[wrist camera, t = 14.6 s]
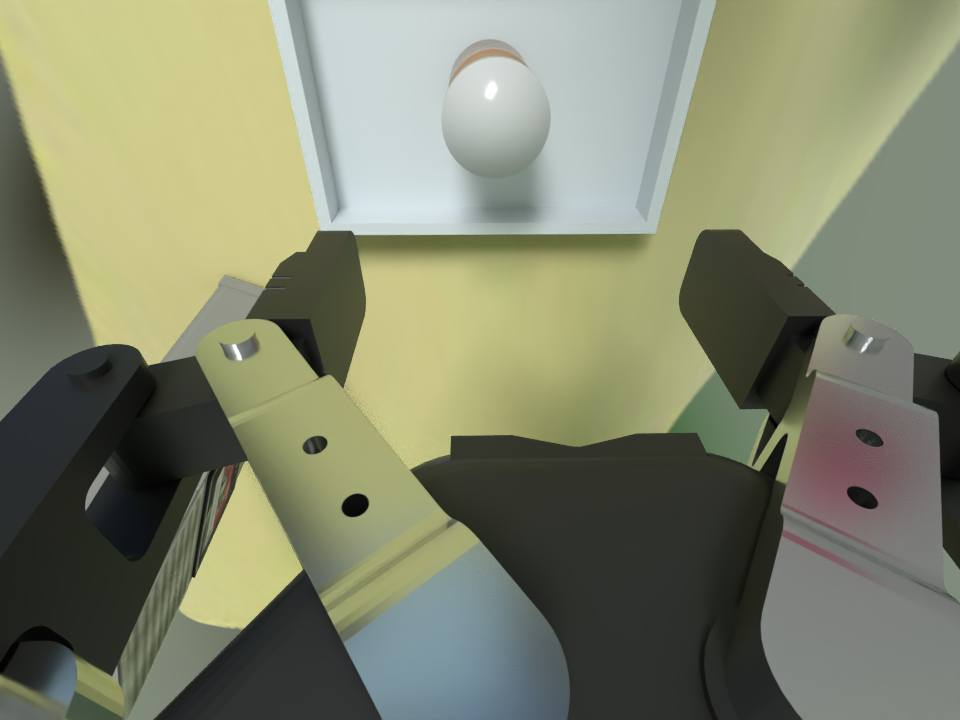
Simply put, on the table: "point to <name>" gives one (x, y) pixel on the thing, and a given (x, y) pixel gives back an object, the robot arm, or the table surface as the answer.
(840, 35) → the table surface
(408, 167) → the tray
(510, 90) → the shaker
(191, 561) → the cassette tape recorder
